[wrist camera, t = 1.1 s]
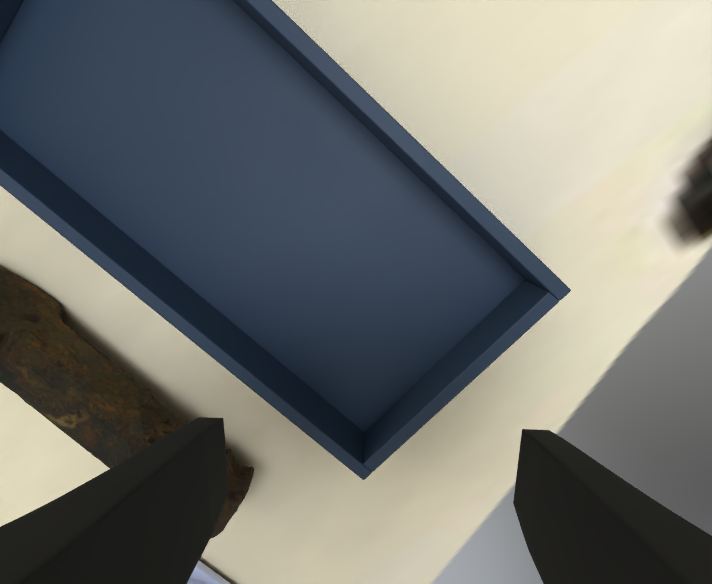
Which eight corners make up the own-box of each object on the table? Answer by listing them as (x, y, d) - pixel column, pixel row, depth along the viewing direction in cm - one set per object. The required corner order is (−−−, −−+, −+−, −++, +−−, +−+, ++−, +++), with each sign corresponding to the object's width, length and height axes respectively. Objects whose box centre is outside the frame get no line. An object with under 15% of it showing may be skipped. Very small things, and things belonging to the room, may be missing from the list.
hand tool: (268, 462, 21) (238, 533, 16) (221, 501, 21) (179, 580, 17) (-5, 208, 18) (-130, 209, 14) (-47, 263, 19) (-179, 280, 15)
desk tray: (365, 440, 20) (363, 480, 17) (-37, 107, 17) (-122, 87, 14) (539, 276, 17) (572, 290, 14) (99, -147, 15) (30, -234, 12)
